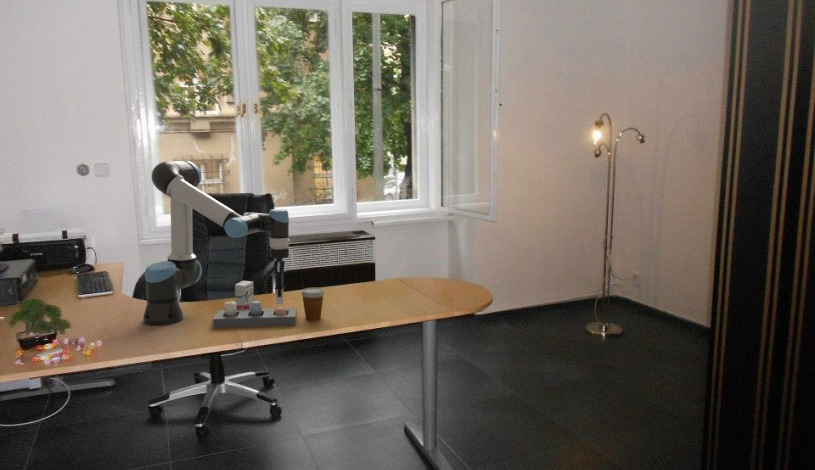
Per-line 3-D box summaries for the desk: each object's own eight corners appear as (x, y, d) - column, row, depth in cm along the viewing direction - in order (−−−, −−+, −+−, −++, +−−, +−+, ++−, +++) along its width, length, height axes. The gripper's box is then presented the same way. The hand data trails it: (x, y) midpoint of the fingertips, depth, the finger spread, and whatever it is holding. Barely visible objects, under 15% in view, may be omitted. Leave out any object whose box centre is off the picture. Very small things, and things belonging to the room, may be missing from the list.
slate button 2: (249, 316, 239) (249, 303, 239) (251, 312, 244) (250, 300, 243) (261, 315, 240) (260, 303, 239) (262, 312, 245) (262, 300, 244)
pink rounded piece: (275, 322, 241) (274, 310, 240) (276, 319, 246) (275, 307, 245) (286, 322, 242) (286, 310, 241) (287, 318, 246) (287, 306, 246)
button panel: (213, 327, 234) (213, 319, 234) (218, 318, 246) (218, 310, 246) (295, 325, 239) (295, 316, 238) (296, 316, 251) (296, 308, 250)
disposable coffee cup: (305, 322, 242) (305, 294, 240) (298, 316, 251) (298, 288, 249) (327, 319, 247) (327, 291, 245) (320, 313, 255) (319, 286, 253)
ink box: (245, 312, 255) (244, 285, 254) (235, 311, 256) (234, 285, 254) (254, 306, 264) (253, 280, 262) (244, 305, 265) (243, 280, 263)
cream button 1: (224, 316, 238) (223, 304, 237) (226, 313, 243) (225, 301, 242) (236, 316, 239) (235, 304, 238) (237, 313, 243) (237, 301, 242)
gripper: (287, 250, 233) (288, 308, 237) (289, 244, 246) (289, 299, 250) (268, 250, 232) (269, 308, 236) (271, 244, 245) (271, 299, 249)
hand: (279, 303), depth 243 cm, fingers closed
